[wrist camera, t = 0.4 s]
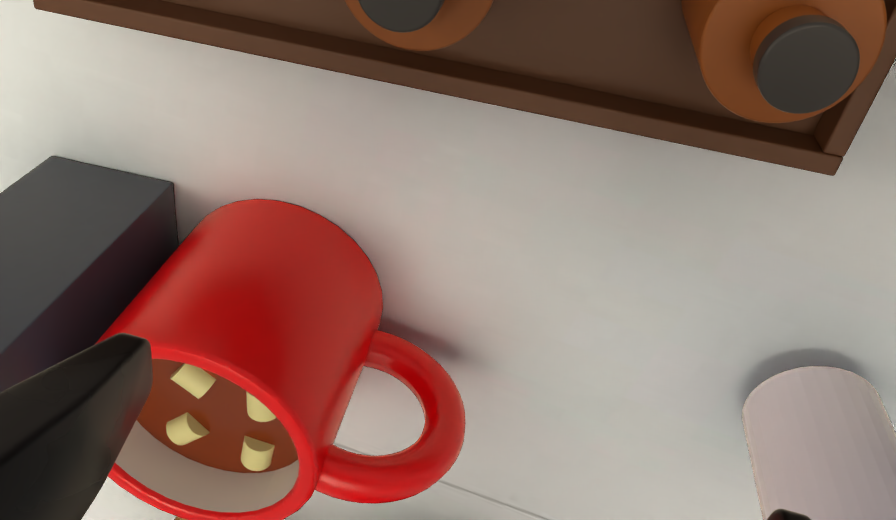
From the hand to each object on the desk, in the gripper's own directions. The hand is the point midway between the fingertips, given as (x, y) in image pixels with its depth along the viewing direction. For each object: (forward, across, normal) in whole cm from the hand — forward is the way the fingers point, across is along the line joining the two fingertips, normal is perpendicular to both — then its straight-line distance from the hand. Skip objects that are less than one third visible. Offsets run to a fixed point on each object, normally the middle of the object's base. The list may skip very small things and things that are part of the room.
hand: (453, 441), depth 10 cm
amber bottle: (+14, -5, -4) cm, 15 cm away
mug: (+14, +5, +10) cm, 19 cm away
